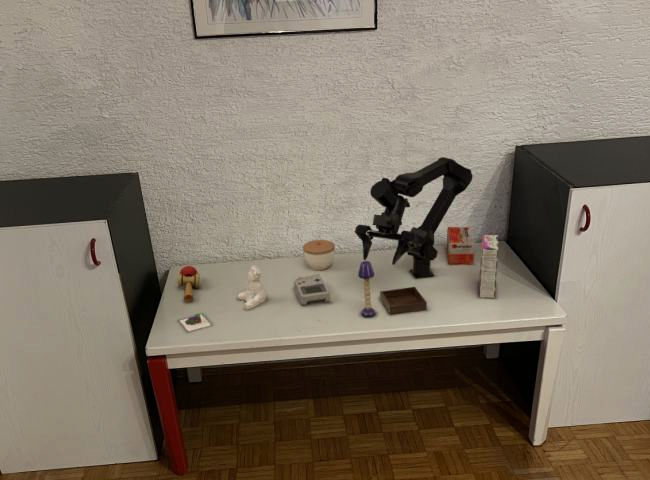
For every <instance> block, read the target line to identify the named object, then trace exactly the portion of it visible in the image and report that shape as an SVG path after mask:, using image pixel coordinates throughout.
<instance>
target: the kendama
mask: <svg viewBox="0 0 650 480" xmlns="http://www.w3.org/2000/svg"><path fill="white" fill-rule="evenodd" d="M198 272H199V271H198V270H197V269H196V267H194V266H192V265H186V266H183V267H182V268H181V269H180V271H179V273H178V279H177V287H178V288H183V287H184V286H185V287H184V294H183V300H184V302H185V303H192V302H193V301H194V294H193V287H194V288H195V289H200V284H201V283H200V281H201V280H200V277H201V274H200V273H198Z"/></svg>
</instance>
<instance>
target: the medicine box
mask: <svg viewBox="0 0 650 480" xmlns="http://www.w3.org/2000/svg"><path fill="white" fill-rule="evenodd" d="M446 235H447V236H446V253H447V260H448V264H449V265H459V264H462V265H474V264H473V263H474V252H475V249H474V248H475V240H474V236H473V231H472V228H471V226H447V231H446Z"/></svg>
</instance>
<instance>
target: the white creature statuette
mask: <svg viewBox="0 0 650 480" xmlns="http://www.w3.org/2000/svg"><path fill="white" fill-rule="evenodd" d="M261 278H262V270H261V268H259V267H258V266H257V265H256V264H255V265H251V267H250V268H249V271H248V272H247V284H246V291H245V290H244V291H241V292H239V293H238V300H239V301H245V303H244V308H245V310H252V309H253V308H256V307H257V306H259V305H261V304H263V303H264V302H265V301H266V300H267V298H268V291H267V289H266V288H265V287H264V286H263V284H262V281H261Z"/></svg>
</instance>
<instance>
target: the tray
mask: <svg viewBox="0 0 650 480" xmlns="http://www.w3.org/2000/svg"><path fill="white" fill-rule="evenodd" d="M379 300H380V301H381V303H382V304H383V307H384V308H385V309H386V311H387V312H388V314H389V315H390V316H393V315H400V314H408V313H416V312H422V311H427V309H428V308H427V307H428V306H427V305H428V302H427V301H426V299H425V298H424V296H422V294H421V293H420V292H419V290H418V289H417V288H416V286H411V287H401V288H396V289H387V290H380V291H379Z"/></svg>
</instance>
